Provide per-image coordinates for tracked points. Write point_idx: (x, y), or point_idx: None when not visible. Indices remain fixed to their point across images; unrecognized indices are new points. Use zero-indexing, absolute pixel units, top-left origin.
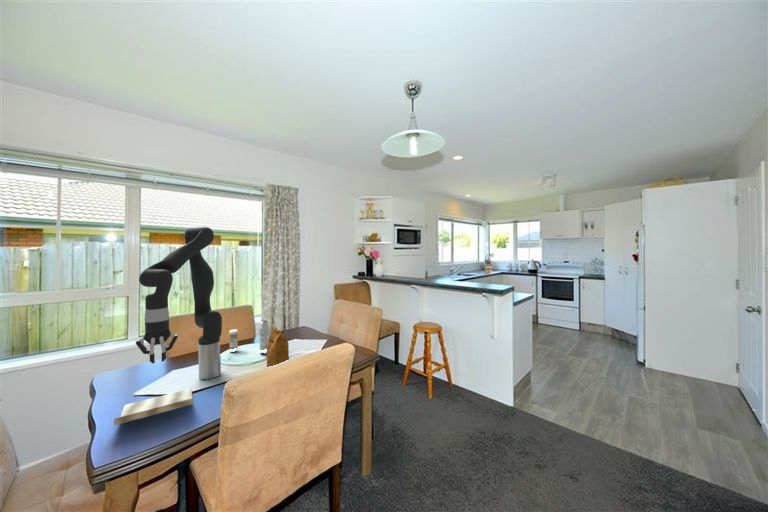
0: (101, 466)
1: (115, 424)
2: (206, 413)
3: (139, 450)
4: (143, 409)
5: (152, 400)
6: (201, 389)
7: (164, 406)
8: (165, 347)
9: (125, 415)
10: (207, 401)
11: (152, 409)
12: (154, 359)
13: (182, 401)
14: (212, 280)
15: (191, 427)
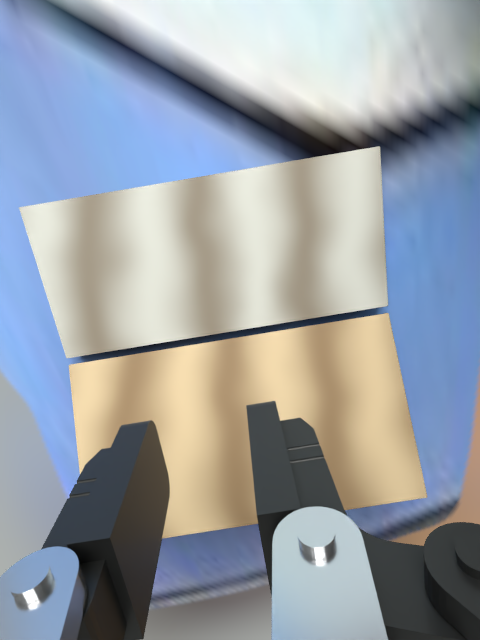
0: None
1: None
2: (436, 433)
3: (230, 570)
4: (154, 323)
5: (169, 223)
6: (425, 121)
7: None
8: (375, 633)
9: (85, 351)
10: (448, 317)
11: (240, 525)
12: (152, 479)
13: (374, 504)
14: None
15: (379, 511)
